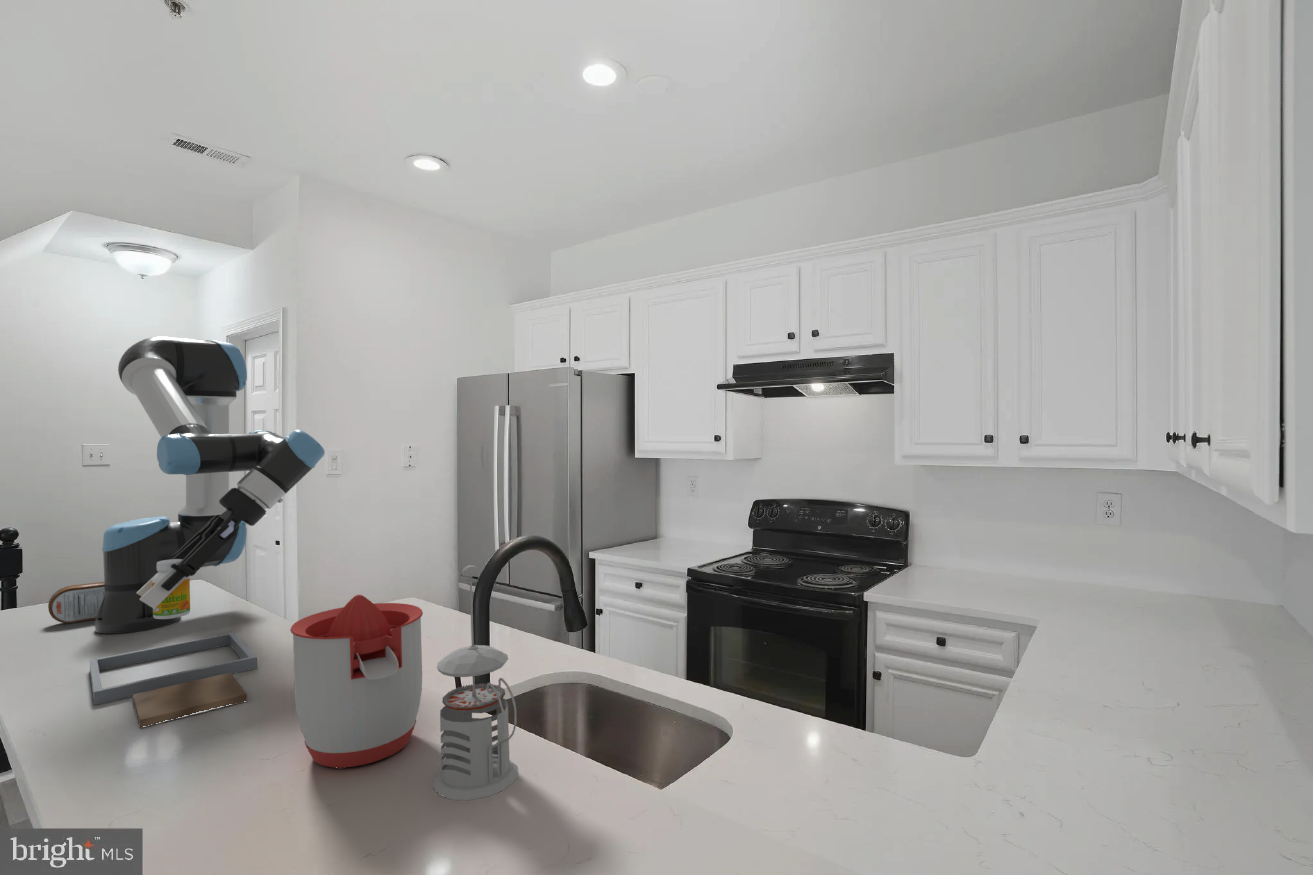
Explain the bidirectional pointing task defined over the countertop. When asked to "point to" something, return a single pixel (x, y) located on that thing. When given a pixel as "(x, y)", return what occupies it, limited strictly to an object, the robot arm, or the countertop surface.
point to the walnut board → (187, 698)
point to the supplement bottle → (172, 594)
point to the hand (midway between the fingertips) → (145, 600)
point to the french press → (474, 724)
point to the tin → (77, 602)
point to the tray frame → (128, 689)
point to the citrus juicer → (358, 680)
